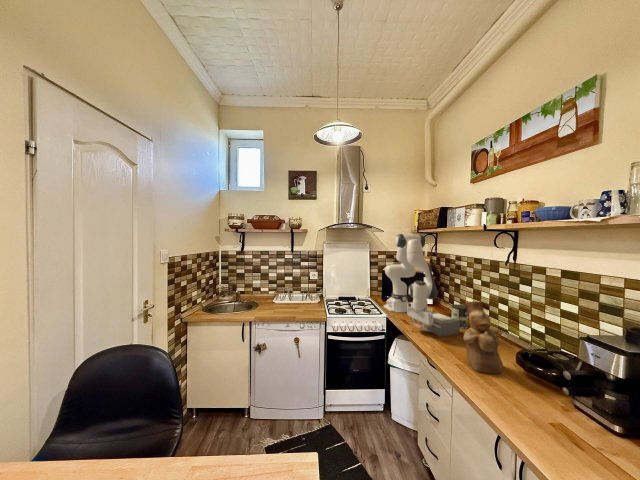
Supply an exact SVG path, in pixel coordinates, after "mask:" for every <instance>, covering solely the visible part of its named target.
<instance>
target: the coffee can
mask: <svg viewBox="0 0 640 480" xmlns="http://www.w3.org/2000/svg"><path fill="white" fill-rule="evenodd" d="M450 317H451V318H454V319H456V320H459V321H460V329H461V330H463V329H469V328H468V327H469V326H468V322H469V318H468V314H467V310H466V306H465V304H463V305H462V304H457V303H456V304H452V305H451V316H450Z"/></svg>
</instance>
